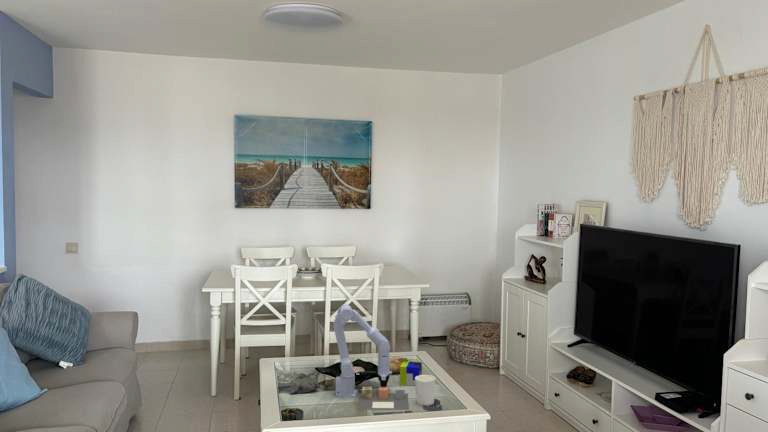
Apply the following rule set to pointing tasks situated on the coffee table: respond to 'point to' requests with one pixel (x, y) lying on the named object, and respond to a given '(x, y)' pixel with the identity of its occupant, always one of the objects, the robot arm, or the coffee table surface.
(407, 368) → the puzzle toy
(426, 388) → the candle holder
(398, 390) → the slate block
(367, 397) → the beech block
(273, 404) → the coffee table surface
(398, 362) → the nautilus
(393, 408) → the mat
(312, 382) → the mineral rock
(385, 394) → the terracotta block
